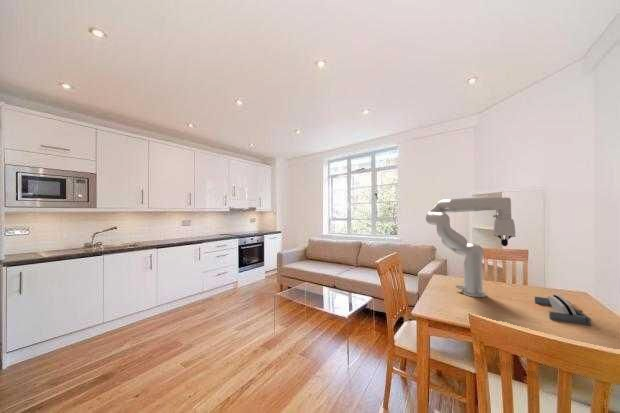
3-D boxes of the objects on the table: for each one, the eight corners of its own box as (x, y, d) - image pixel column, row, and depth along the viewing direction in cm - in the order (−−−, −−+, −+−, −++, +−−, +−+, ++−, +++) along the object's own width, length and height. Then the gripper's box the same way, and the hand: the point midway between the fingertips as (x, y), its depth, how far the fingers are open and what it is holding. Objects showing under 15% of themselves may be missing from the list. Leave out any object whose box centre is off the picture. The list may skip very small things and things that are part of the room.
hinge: (585, 324, 106) (574, 302, 108) (571, 325, 108) (561, 304, 110) (565, 309, 121) (556, 290, 123) (553, 310, 123) (544, 292, 125)
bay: (550, 319, 110) (550, 311, 110) (534, 302, 130) (534, 295, 130) (591, 326, 104) (591, 317, 104) (567, 306, 123) (567, 299, 123)
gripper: (489, 217, 147) (490, 246, 147) (520, 217, 139) (522, 247, 139) (487, 216, 153) (488, 244, 153) (517, 216, 146) (518, 245, 146)
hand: (504, 245), depth 146 cm, fingers closed
